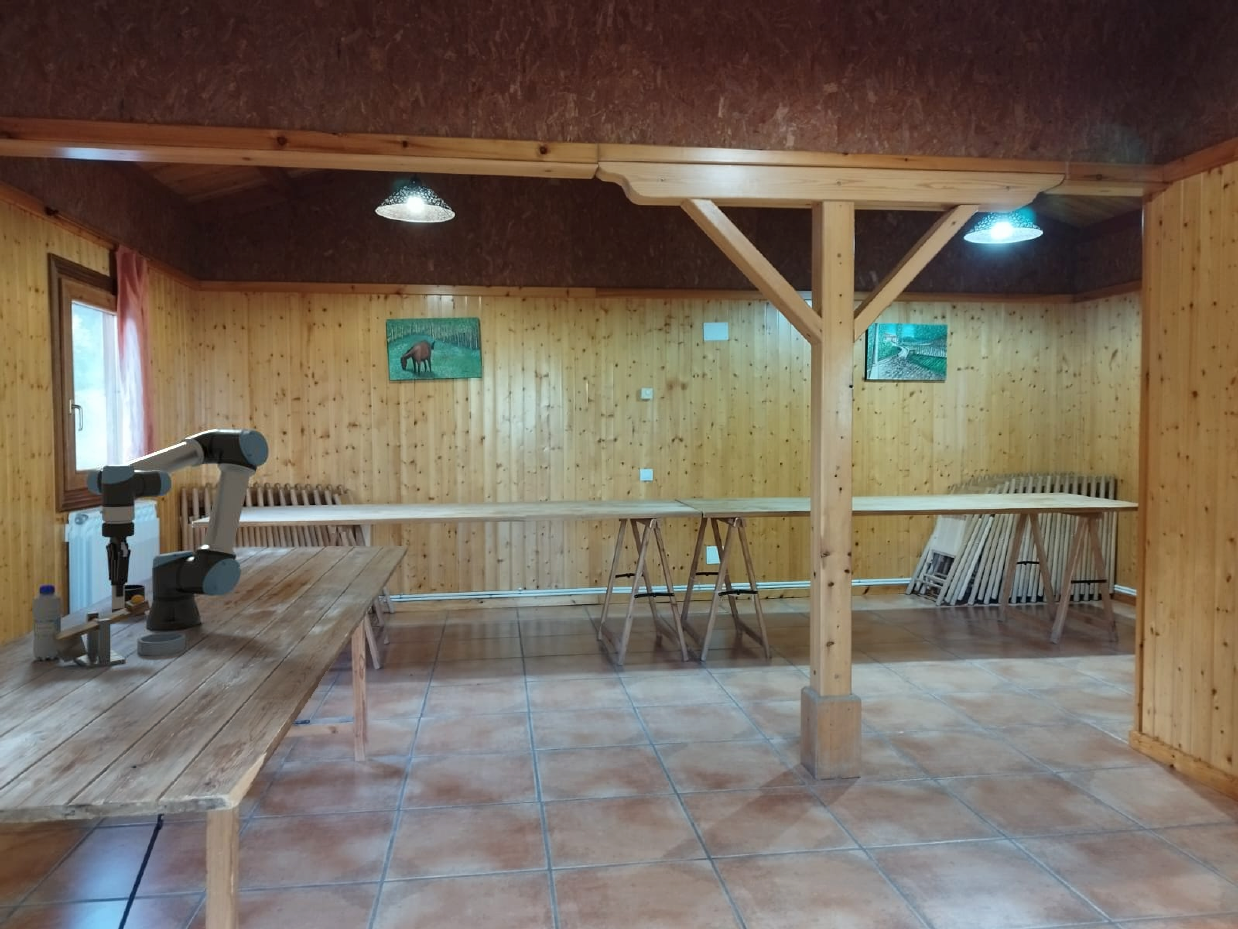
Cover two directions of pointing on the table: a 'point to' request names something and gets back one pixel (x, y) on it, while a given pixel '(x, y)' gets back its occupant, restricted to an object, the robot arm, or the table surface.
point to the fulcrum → (99, 646)
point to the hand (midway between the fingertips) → (118, 608)
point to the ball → (137, 599)
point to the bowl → (161, 643)
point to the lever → (71, 639)
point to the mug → (132, 594)
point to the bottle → (46, 622)
